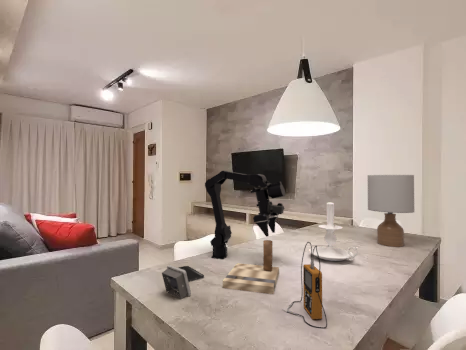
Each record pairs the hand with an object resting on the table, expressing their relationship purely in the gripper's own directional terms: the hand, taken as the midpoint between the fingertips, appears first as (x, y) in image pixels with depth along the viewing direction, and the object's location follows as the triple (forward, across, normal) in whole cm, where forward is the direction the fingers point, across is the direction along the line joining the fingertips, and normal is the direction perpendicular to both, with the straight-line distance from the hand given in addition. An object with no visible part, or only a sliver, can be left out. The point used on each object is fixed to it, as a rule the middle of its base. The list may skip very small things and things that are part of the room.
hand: (270, 234), depth 115 cm
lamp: (+26, +70, -48) cm, 89 cm away
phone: (+8, -26, +29) cm, 40 cm away
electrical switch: (+10, -43, +21) cm, 49 cm away
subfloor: (+13, -20, +4) cm, 24 cm away
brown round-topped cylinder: (+14, -14, 0) cm, 20 cm away
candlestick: (+19, +22, -21) cm, 36 cm away
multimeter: (+18, -37, -17) cm, 45 cm away
